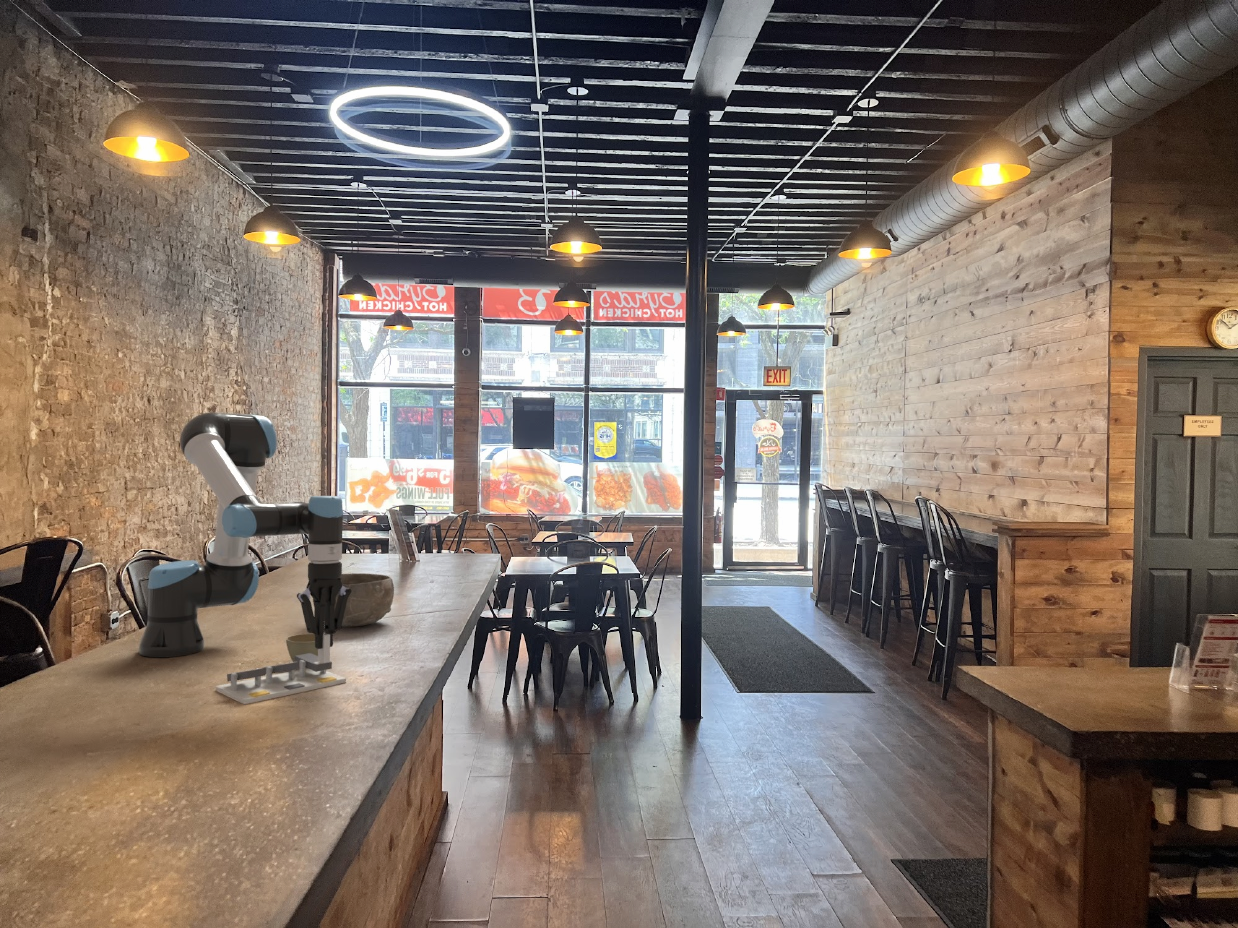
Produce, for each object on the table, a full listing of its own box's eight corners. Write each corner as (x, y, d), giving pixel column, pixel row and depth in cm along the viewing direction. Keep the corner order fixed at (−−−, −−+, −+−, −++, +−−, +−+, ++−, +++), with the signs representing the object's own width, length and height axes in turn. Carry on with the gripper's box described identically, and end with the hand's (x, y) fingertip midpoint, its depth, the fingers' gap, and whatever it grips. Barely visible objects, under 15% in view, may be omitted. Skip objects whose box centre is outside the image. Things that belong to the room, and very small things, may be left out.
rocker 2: (261, 674, 187) (260, 667, 187) (279, 671, 190) (279, 664, 191) (282, 671, 181) (281, 664, 181) (300, 668, 184) (299, 660, 184)
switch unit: (215, 690, 181) (216, 669, 181) (315, 670, 199) (315, 651, 199) (244, 704, 172) (244, 681, 171) (345, 682, 190) (346, 662, 190)
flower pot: (313, 672, 198) (313, 643, 198) (276, 668, 200) (277, 640, 200) (335, 662, 207) (336, 634, 207) (300, 659, 209) (301, 631, 209)
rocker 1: (226, 681, 181) (226, 673, 181) (246, 677, 184) (245, 670, 185) (246, 678, 175) (246, 670, 175) (266, 674, 178) (265, 667, 178)
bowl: (409, 624, 255) (411, 577, 255) (347, 637, 235) (348, 586, 235) (359, 614, 268) (360, 569, 268) (295, 625, 248) (296, 577, 248)
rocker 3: (293, 662, 193) (293, 655, 193) (310, 659, 197) (311, 652, 197) (315, 671, 187) (315, 664, 187) (332, 668, 190) (332, 661, 190)
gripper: (307, 565, 181) (305, 669, 181) (358, 560, 191) (357, 659, 191) (290, 562, 186) (289, 663, 186) (341, 557, 196) (340, 654, 196)
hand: (323, 661), depth 189 cm, fingers closed
